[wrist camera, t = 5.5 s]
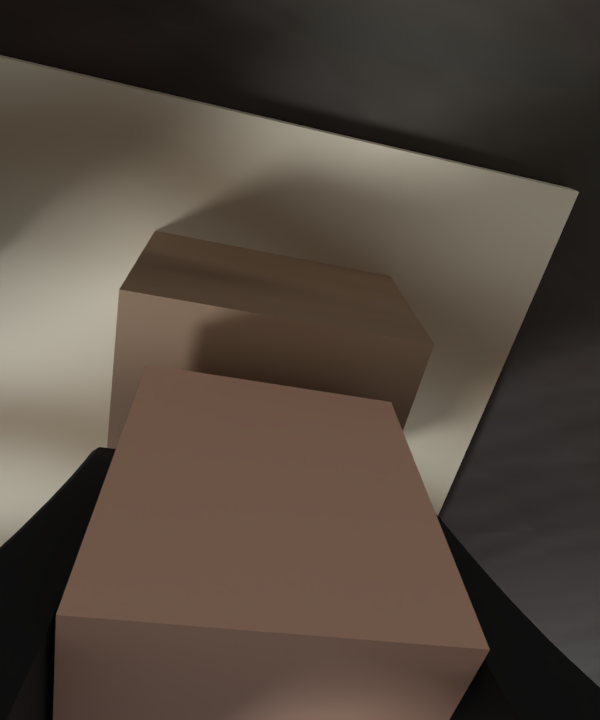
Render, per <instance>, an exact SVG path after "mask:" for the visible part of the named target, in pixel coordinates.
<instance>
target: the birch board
mask: <svg viewBox="0 0 600 720" xmlns="http://www.w3.org/2000/svg"><path fill="white" fill-rule="evenodd" d="M578 194H579V192H578V191H576V190H573V189H570V188H568V187H564V186H560V185H555V184H551V183H547V182H543V181H538V180H534V179H530V178H525V177H521V176H517V175H513V174H508V173H504V172H500V171H495V170H491V169H487V168H483V167H478V166H474V165H470V164H465V163H461V162H457V161H453V160H448V159H444V158H440V157H435V156H431V155H427V154H423V153H418V152H414V151H410V150H406V149H401V148H397V147H393V146H388V145H384V144H380V143H376V142H371V141H367V140H363V139H358V138H354V137H350V136H346V135H341V134H337V133H333V132H328V131H324V130H320V129H316V128H311V127H307V126H303V125H298V124H294V123H290V122H286V121H281V120H277V119H273V118H268V117H264V116H260V115H256V114H251V113H247V112H243V111H238V110H234V109H230V108H226V107H221V106H217V105H213V104H208V103H204V102H200V101H196V100H191V99H187V98H183V97H178V96H174V95H170V94H166V93H161V92H157V91H153V90H148V89H144V88H140V87H136V86H131V85H127V84H123V83H118V82H114V81H110V80H106V79H101V78H97V77H93V76H88V75H84V74H80V73H76V72H71V71H67V70H63V69H58V68H54V67H50V66H46V65H41V64H37V63H33V62H28V61H24V60H20V59H16V58H11V57H7V56H3V55H0V547H1V546H2V545H3V544H4V543H5V542H6V541H8V540H9V539H10V538H11V537H12V536H13V535H14V534H15V533H16V532H17V531H18V530H19V529H20V528H21V527H22V526H23V525H24V524H25V523H26V522H27V521H28V520H29V519H30V518H31V517H32V516H33V515H34V514H35V513H36V512H37V511H38V510H39V509H40V508H41V507H42V506H43V505H44V504H45V503H46V502H47V501H48V500H49V499H50V498H51V497H52V496H53V495H54V494H55V493H56V492H57V491H58V490H59V489H60V488H61V487H62V486H63V484H64V483H65V482H66V481H67V480H68V479H69V478H70V477H71V476H72V475H73V473H74V472H75V471H76V470H77V469H78V468H79V467H80V465H81V464H82V463H83V462H84V461H85V459H86V458H87V457H88V456H89V454H90V453H91V452H92V451H93V450H95V449H97V448H98V447H104V448H107V440H108V427H109V415H110V402H111V389H112V376H113V363H114V350H115V337H116V324H117V311H118V298H119V289H120V287H121V286H122V284H123V282H124V281H125V279H126V277H127V276H128V274H129V272H130V271H131V269H132V268H133V266H134V264H135V263H136V261H137V259H138V258H139V256H140V254H141V253H142V251H143V249H144V248H145V246H146V245H147V243H148V241H149V240H150V238H151V236H152V235H153V233H154V231H159V232H164V233H170V234H175V235H180V236H185V237H190V238H195V239H201V240H206V241H211V242H216V243H221V244H226V245H232V246H237V247H242V248H247V249H252V250H257V251H263V252H268V253H273V254H278V255H283V256H289V257H294V258H299V259H304V260H309V261H314V262H320V263H325V264H330V265H335V266H340V267H345V268H351V269H356V270H361V271H366V272H371V273H376V274H382V275H387V276H391V278H392V279H393V281H394V282H395V284H396V285H397V287H398V289H399V290H400V292H401V293H402V295H403V296H404V298H405V299H406V301H407V303H408V304H409V306H410V307H411V309H412V310H413V312H414V313H415V315H416V317H417V318H418V320H419V321H420V323H421V324H422V326H423V327H424V329H425V331H426V332H427V334H428V335H429V337H430V338H431V340H432V341H433V343H434V347H433V350H432V353H431V355H430V358H429V361H428V364H427V366H426V369H425V372H424V375H423V377H422V380H421V383H420V385H419V388H418V391H417V394H416V396H415V399H414V402H413V405H412V407H411V410H410V413H409V416H408V418H407V421H406V424H405V427H404V429H403V433H404V436H405V438H406V441H407V443H408V446H409V448H410V451H411V453H412V456H413V458H414V461H415V463H416V466H417V468H418V471H419V473H420V476H421V478H422V481H423V483H424V486H425V488H426V491H427V493H428V496H429V498H430V501H431V503H432V506H433V508H434V511H435V513H436V514H437V516H438V514H439V512H440V510H441V508H442V505H443V503H444V501H445V498H446V496H447V494H448V492H449V489H450V487H451V485H452V482H453V480H454V478H455V476H456V473H457V471H458V469H459V466H460V464H461V462H462V459H463V457H464V455H465V453H466V450H467V448H468V446H469V443H470V441H471V439H472V437H473V434H474V432H475V430H476V427H477V425H478V423H479V421H480V418H481V416H482V414H483V411H484V409H485V407H486V404H487V402H488V400H489V398H490V395H491V393H492V391H493V388H494V386H495V384H496V382H497V379H498V377H499V375H500V372H501V370H502V368H503V366H504V363H505V361H506V359H507V356H508V354H509V352H510V349H511V347H512V345H513V343H514V340H515V338H516V336H517V333H518V331H519V329H520V327H521V324H522V322H523V320H524V317H525V315H526V313H527V311H528V308H529V306H530V304H531V301H532V299H533V297H534V294H535V292H536V290H537V288H538V285H539V283H540V281H541V278H542V276H543V274H544V272H545V269H546V267H547V265H548V262H549V260H550V258H551V255H552V253H553V251H554V249H555V246H556V244H557V242H558V239H559V237H560V235H561V233H562V230H563V228H564V226H565V223H566V221H567V219H568V217H569V214H570V212H571V210H572V207H573V205H574V203H575V200H576V198H577V196H578Z"/></svg>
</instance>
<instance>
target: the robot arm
mask: <svg viewBox="0 0 600 720" xmlns="http://www.w3.org/2000/svg"><path fill="white" fill-rule="evenodd" d="M115 450H116V449H112V448H104V447H98V448H97V449H95V450H93V451H92V452H91V453H90V454H89V456H88V457H87V458H86V459H85V461H84V462H83V463H82V464H81V465H80V467H79V468H78V469H77V470H76V471H75V472H74V473H73V475H72V476H71V477H70V478H69V479H68V480H67V481H66V482H65V483H64V484H63V486H62V487H61V488H60V489H59V490H58V491H57V492H56V493H55V494H54V495H53V496H52V497H51V498H50V499H49V500H48V501H47V502H46V503H45V504H44V505H43V506H42V507H41V508H40V509H39V510H38V511H37V512H36V513H35V514H34V515H33V516H32V517H31V518H30V519H29V520H28V521H27V522H26V523H25V524H24V525H23V526H22V527H21V528H20V529H19V530H18V531H17V532H16V533H15V534H14V535H13V536H12V537H11V538H10V539H9V540H8V541H6V542H5V543H4V544H3V545H2V546H1V547H0V720H53V698H54V663H55V628H56V613H57V610H58V608H59V605H60V602H61V599H62V597H63V594H64V591H65V588H66V586H67V583H68V580H69V577H70V575H71V572H72V569H73V566H74V564H75V561H76V558H77V555H78V552H79V550H80V547H81V544H82V541H83V539H84V536H85V533H86V530H87V528H88V525H89V522H90V519H91V517H92V514H93V511H94V508H95V506H96V503H97V500H98V497H99V495H100V492H101V489H102V486H103V483H104V481H105V478H106V475H107V472H108V470H109V467H110V464H111V461H112V459H113V456H114V453H115ZM436 516H437V514H436ZM437 518H438V521H439V523H440V526H441V528H442V531H443V533H444V536H445V538H446V541H447V544H448V546H449V549H450V551H451V554H452V556H453V559H454V561H455V564H456V566H457V569H458V571H459V574H460V576H461V579H462V581H463V584H464V586H465V589H466V591H467V594H468V596H469V599H470V601H471V604H472V606H473V609H474V611H475V614H476V616H477V619H478V621H479V624H480V626H481V629H482V631H483V634H484V636H485V639H486V641H487V644H488V646H489V649H490V650H489V652H488V654H487V656H486V657H485V659H484V661H483V663H482V664H481V666H480V668H479V669H478V671H477V673H476V675H475V676H474V678H473V680H472V682H471V683H470V685H469V687H468V688H467V690H466V692H465V694H464V695H463V697H462V699H461V701H460V702H459V704H458V706H457V707H456V709H455V711H454V713H453V714H452V716H451V718H450V719H449V720H600V688H599V687H598V686H597V685H596V684H595V683H594V682H593V681H592V680H591V679H590V678H589V677H588V676H586V675H585V674H584V673H583V672H582V671H581V670H580V669H579V668H578V667H577V666H576V665H575V664H574V663H572V662H571V661H570V660H569V659H568V658H567V657H566V656H565V655H564V654H563V653H562V652H561V651H560V650H559V649H558V648H557V647H556V646H555V645H554V644H553V643H552V642H550V641H549V640H548V639H547V638H546V637H545V636H544V635H543V634H542V633H541V631H540V630H539V629H538V628H537V627H536V626H535V625H534V624H533V623H532V622H531V621H530V620H529V619H528V618H527V617H526V616H525V615H524V614H523V613H522V612H521V611H520V610H519V609H518V607H517V606H516V605H515V604H514V603H513V602H512V601H511V600H510V599H509V598H508V597H507V596H506V595H505V593H504V592H503V591H502V590H501V589H500V588H499V587H498V586H497V585H496V584H495V582H494V581H493V580H492V579H491V578H490V577H489V576H488V575H487V573H486V572H485V571H484V570H483V569H482V568H481V567H480V565H479V564H478V563H477V562H476V561H475V560H474V558H473V557H472V556H471V555H470V554H469V553H468V551H467V550H466V549H465V548H464V547H463V546H462V544H461V543H460V542H459V541H458V540H457V538H456V537H455V536H454V535H453V534H452V532H451V531H450V530H449V529H448V528H447V526H446V525H445V524H444V523H443V522H442V520H441V519H440V518H439V517H438V516H437Z"/></svg>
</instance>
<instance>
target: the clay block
mask: <svg viewBox="0 0 600 720" xmlns="http://www.w3.org/2000/svg"><path fill="white" fill-rule="evenodd" d="M489 650H490V649H489V646H488V644H487V641H486V639H485V636H484V634H483V631H482V629H481V626H480V624H479V621H478V619H477V616H476V614H475V611H474V609H473V606H472V604H471V601H470V599H469V596H468V594H467V591H466V589H465V586H464V584H463V581H462V579H461V576H460V574H459V571H458V569H457V566H456V564H455V561H454V559H453V556H452V554H451V551H450V549H449V546H448V544H447V541H446V538H445V536H444V533H443V531H442V528H441V526H440V523H439V521H438V518H437V516H436V513H435V511H434V508H433V506H432V503H431V501H430V498H429V496H428V493H427V491H426V488H425V486H424V483H423V481H422V478H421V476H420V473H419V471H418V468H417V466H416V463H415V461H414V458H413V456H412V453H411V451H410V448H409V446H408V443H407V441H406V438H405V436H404V433H403V431H402V428H401V426H400V423H399V421H398V418H397V416H396V413H395V411H394V408H393V406H392V403H391V402H387V401H381V400H374V399H368V398H361V397H355V396H348V395H342V394H335V393H329V392H322V391H316V390H309V389H303V388H296V387H290V386H283V385H277V384H270V383H264V382H257V381H251V380H244V379H238V378H231V377H225V376H218V375H212V374H205V373H199V372H192V371H186V370H179V369H173V368H166V367H160V366H153V365H146V368H145V370H144V373H143V376H142V379H141V381H140V384H139V387H138V390H137V392H136V395H135V398H134V401H133V403H132V406H131V409H130V412H129V414H128V417H127V420H126V423H125V426H124V428H123V431H122V434H121V437H120V439H119V442H118V445H117V448H116V450H115V453H114V456H113V459H112V461H111V464H110V467H109V470H108V472H107V475H106V478H105V481H104V483H103V486H102V489H101V492H100V495H99V497H98V500H97V503H96V506H95V508H94V511H93V514H92V517H91V519H90V522H89V525H88V528H87V530H86V533H85V536H84V539H83V541H82V544H81V547H80V550H79V552H78V555H77V558H76V561H75V564H74V566H73V569H72V572H71V575H70V577H69V580H68V583H67V586H66V588H65V591H64V594H63V597H62V599H61V602H60V605H59V608H58V610H57V613H56V628H55V663H54V698H53V720H449V719H450V718H451V716H452V714H453V713H454V711H455V709H456V707H457V706H458V704H459V702H460V701H461V699H462V697H463V695H464V694H465V692H466V690H467V688H468V687H469V685H470V683H471V682H472V680H473V678H474V676H475V675H476V673H477V671H478V669H479V668H480V666H481V664H482V663H483V661H484V659H485V657H486V656H487V654H488V652H489Z"/></svg>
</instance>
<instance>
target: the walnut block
mask: <svg viewBox="0 0 600 720" xmlns="http://www.w3.org/2000/svg"><path fill="white" fill-rule="evenodd" d="M433 347H434V343H433V341H432V340H431V338H430V337H429V335H428V334H427V332H426V331H425V329H424V327H423V326H422V324H421V323H420V321H419V320H418V318H417V317H416V315H415V313H414V312H413V310H412V309H411V307H410V306H409V304H408V303H407V301H406V299H405V298H404V296H403V295H402V293H401V292H400V290H399V289H398V287H397V285H396V284H395V282H394V281H393V279H392V278H391V276H387V275H382V274H376V273H371V272H366V271H361V270H356V269H351V268H345V267H340V266H335V265H330V264H325V263H320V262H314V261H309V260H304V259H299V258H294V257H289V256H283V255H278V254H273V253H268V252H263V251H257V250H252V249H247V248H242V247H237V246H232V245H226V244H221V243H216V242H211V241H206V240H201V239H195V238H190V237H185V236H180V235H175V234H170V233H164V232H159V231H154V233H153V235H152V236H151V238H150V240H149V241H148V243H147V245H146V246H145V248H144V249H143V251H142V253H141V254H140V256H139V258H138V259H137V261H136V263H135V264H134V266H133V268H132V269H131V271H130V272H129V274H128V276H127V277H126V279H125V281H124V282H123V284H122V286H121V287H120V289H119V298H118V311H117V324H116V337H115V350H114V363H113V376H112V389H111V402H110V415H109V427H108V440H107V448H112V449H116V448H117V445H118V442H119V439H120V437H121V434H122V431H123V428H124V426H125V423H126V420H127V417H128V414H129V412H130V409H131V406H132V403H133V401H134V398H135V395H136V392H137V390H138V387H139V384H140V381H141V379H142V376H143V373H144V370H145V368H146V365H153V366H160V367H166V368H173V369H179V370H186V371H192V372H199V373H205V374H212V375H218V376H225V377H231V378H238V379H244V380H251V381H257V382H264V383H270V384H277V385H283V386H290V387H296V388H303V389H309V390H316V391H322V392H329V393H335V394H342V395H348V396H355V397H361V398H368V399H374V400H381V401H387V402H391V403H392V406H393V408H394V411H395V413H396V416H397V418H398V421H399V423H400V426H401V428H402V431H403V429H404V427H405V424H406V421H407V418H408V416H409V413H410V410H411V407H412V405H413V402H414V399H415V396H416V394H417V391H418V388H419V385H420V383H421V380H422V377H423V375H424V372H425V369H426V366H427V364H428V361H429V358H430V355H431V353H432V350H433Z"/></svg>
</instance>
